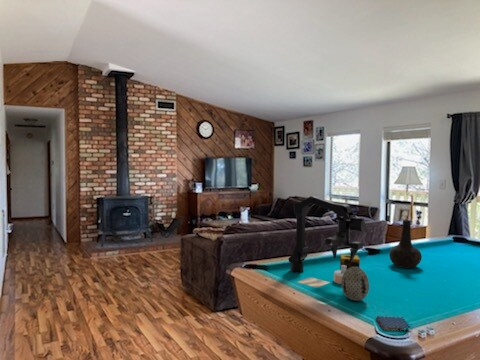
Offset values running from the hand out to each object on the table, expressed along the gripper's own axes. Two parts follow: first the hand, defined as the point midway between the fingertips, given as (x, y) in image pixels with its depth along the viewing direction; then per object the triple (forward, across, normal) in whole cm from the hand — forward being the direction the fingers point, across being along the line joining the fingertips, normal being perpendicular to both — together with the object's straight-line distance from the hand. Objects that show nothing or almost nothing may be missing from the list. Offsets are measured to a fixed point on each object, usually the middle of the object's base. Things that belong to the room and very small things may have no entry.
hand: (342, 259), depth 192 cm
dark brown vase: (+12, +9, +58) cm, 60 cm away
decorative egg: (+12, +17, -18) cm, 28 cm away
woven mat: (+12, +40, -32) cm, 53 cm away
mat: (+12, -9, -12) cm, 19 cm away
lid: (+7, +1, 0) cm, 7 cm away
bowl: (+12, +1, 0) cm, 12 cm away
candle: (+12, -5, +17) cm, 21 cm away
